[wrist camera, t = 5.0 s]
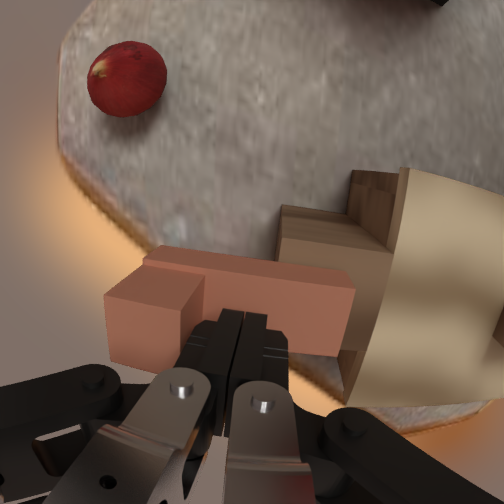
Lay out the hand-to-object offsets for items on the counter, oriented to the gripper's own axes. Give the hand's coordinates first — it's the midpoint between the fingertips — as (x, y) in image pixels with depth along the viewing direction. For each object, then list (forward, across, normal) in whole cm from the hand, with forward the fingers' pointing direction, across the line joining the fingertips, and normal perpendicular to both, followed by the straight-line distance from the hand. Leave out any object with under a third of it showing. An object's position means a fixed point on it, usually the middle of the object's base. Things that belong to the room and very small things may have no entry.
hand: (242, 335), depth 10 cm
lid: (+6, -17, 0) cm, 18 cm away
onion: (+15, +11, -11) cm, 22 cm away
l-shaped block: (+3, 0, 0) cm, 3 cm away
